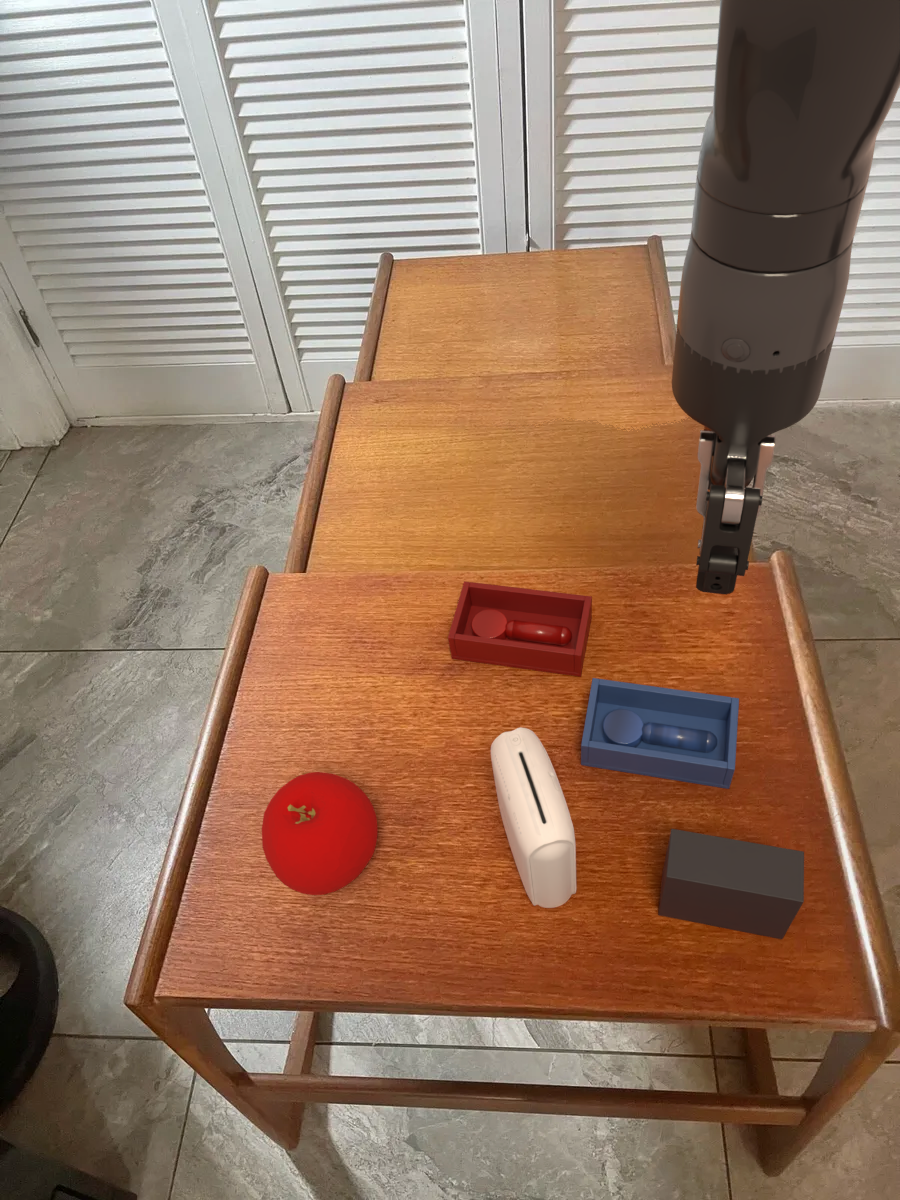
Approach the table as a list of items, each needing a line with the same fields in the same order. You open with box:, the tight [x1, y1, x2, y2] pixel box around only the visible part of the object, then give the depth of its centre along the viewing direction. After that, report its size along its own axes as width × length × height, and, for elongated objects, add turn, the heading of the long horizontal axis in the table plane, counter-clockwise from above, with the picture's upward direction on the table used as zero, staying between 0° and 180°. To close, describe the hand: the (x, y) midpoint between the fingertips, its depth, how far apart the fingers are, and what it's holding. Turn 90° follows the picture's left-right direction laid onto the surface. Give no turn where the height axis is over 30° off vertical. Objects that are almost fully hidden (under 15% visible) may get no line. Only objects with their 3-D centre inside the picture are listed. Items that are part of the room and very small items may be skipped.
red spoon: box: [471, 609, 572, 646], centre depth 85 cm, size 10×3×2 cm, turn 76°
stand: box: [657, 828, 805, 940], centre depth 66 cm, size 9×4×8 cm, turn 76°
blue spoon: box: [603, 709, 718, 752], centre depth 76 cm, size 10×3×2 cm, turn 76°
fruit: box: [261, 771, 379, 896], centre depth 71 cm, size 9×9×10 cm
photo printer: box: [490, 726, 578, 909], centre depth 68 cm, size 10×4×12 cm, turn 14°
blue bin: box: [580, 677, 740, 790], centre depth 76 cm, size 12×7×4 cm, turn 76°
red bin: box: [447, 580, 593, 678], centre depth 84 cm, size 12×7×4 cm, turn 76°
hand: (718, 535), depth 57 cm, fingers open, 8 cm apart
